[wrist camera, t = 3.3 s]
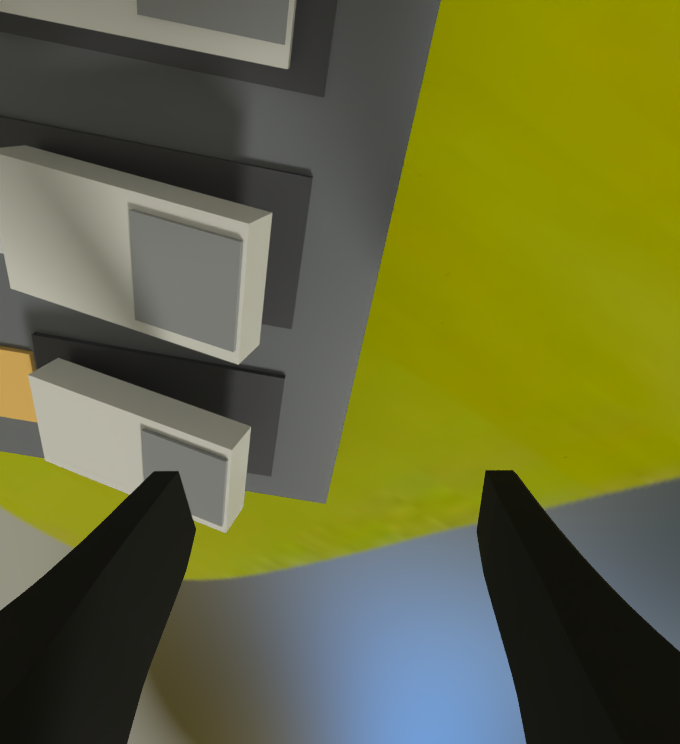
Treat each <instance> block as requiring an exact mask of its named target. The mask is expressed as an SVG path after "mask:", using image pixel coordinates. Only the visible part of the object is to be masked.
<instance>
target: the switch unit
mask: <svg viewBox="0 0 680 744" xmlns="http://www.w3.org/2000/svg"><path fill="white" fill-rule="evenodd" d="M440 1H441V0H297V1H296V11H295V21H294V30H293V40H292V50H291V60H290V68H289V69H283V68H278V67H273V66H268V65H263V64H259V63H254V62H249V61H244V60H239V59H234V58H229V57H224V56H219V55H214V54H209V53H204V52H199V51H194V50H189V49H184V48H179V47H174V46H169V45H164V44H159V43H154V42H150V41H145V40H140V39H135V38H130V37H125V36H120V35H115V34H110V33H105V32H100V31H95V30H90V29H85V28H80V27H75V26H70V25H65V24H60V23H55V22H50V21H45V20H40V19H36V18H31V17H26V16H21V15H16V14H11V13H6V12H1V11H0V148H2V147H12V146H22V145H26V146H30V147H34V148H37V149H41V150H45V151H48V152H52V153H56V154H59V155H63V156H67V157H70V158H74V159H78V160H81V161H85V162H89V163H92V164H96V165H100V166H103V167H107V168H111V169H114V170H118V171H122V172H125V173H129V174H133V175H136V176H140V177H144V178H147V179H151V180H155V181H158V182H162V183H166V184H169V185H173V186H177V187H180V188H184V189H188V190H191V191H195V192H199V193H202V194H206V195H210V196H213V197H217V198H221V199H224V200H228V201H232V202H235V203H239V204H243V205H246V206H250V207H254V208H257V209H261V210H265V211H268V212H272V222H271V232H270V242H269V252H268V262H267V272H266V283H265V293H264V303H263V313H262V323H261V333H260V343H259V346H257V347H256V348H255V349H254V350H253V351H252V352H251V353H250V354H249V355H248V356H247V357H246V358H245V359H244V360H243V361H242V362H241V363H240V364H239V365H238V364H235V363H232V362H229V361H226V360H223V359H220V358H217V357H214V356H211V355H208V354H205V353H202V352H199V351H196V350H193V349H190V348H187V347H184V346H181V345H178V344H175V343H172V342H169V341H166V340H163V339H160V338H157V337H154V336H151V335H148V334H145V333H142V332H139V331H136V330H133V329H130V328H127V327H124V326H121V325H118V324H115V323H112V322H109V321H106V320H103V319H100V318H97V317H94V316H91V315H88V314H85V313H82V312H79V311H76V310H73V309H70V308H67V307H64V306H61V305H58V304H55V303H53V302H50V301H47V300H44V299H41V298H38V297H35V296H32V295H29V294H26V293H23V292H20V291H17V290H14V289H11V288H10V283H9V278H8V273H7V268H6V263H5V258H4V253H3V248H2V243H1V238H0V451H3V452H9V453H16V454H22V455H28V456H34V457H40V458H44V453H43V448H42V443H41V438H40V433H39V428H38V423H37V418H36V413H35V408H34V403H33V398H32V393H31V388H30V383H29V378H28V375H29V374H30V373H32V372H34V371H36V370H37V369H39V368H41V367H43V366H44V365H46V364H48V363H50V362H52V361H53V360H55V359H57V358H61V359H63V360H66V361H69V362H72V363H75V364H77V365H80V366H83V367H86V368H89V369H91V370H94V371H97V372H100V373H103V374H105V375H108V376H111V377H114V378H117V379H119V380H122V381H125V382H128V383H131V384H133V385H136V386H139V387H142V388H145V389H147V390H150V391H153V392H156V393H159V394H161V395H164V396H167V397H170V398H173V399H175V400H178V401H181V402H184V403H187V404H189V405H192V406H195V407H198V408H201V409H203V410H206V411H209V412H212V413H215V414H217V415H220V416H223V417H226V418H229V419H231V420H234V421H237V422H240V423H243V424H245V425H248V426H251V433H250V443H249V454H248V464H247V474H246V484H245V491H250V492H256V493H263V494H269V495H275V496H281V497H287V498H293V499H300V500H306V501H312V502H318V503H324V504H326V499H327V495H328V491H329V486H330V482H331V478H332V473H333V469H334V464H335V460H336V456H337V451H338V447H339V443H340V438H341V434H342V429H343V425H344V421H345V416H346V412H347V408H348V403H349V399H350V394H351V390H352V386H353V381H354V377H355V373H356V368H357V364H358V359H359V355H360V351H361V346H362V342H363V338H364V333H365V329H366V324H367V320H368V316H369V311H370V307H371V303H372V298H373V294H374V289H375V285H376V281H377V276H378V272H379V268H380V263H381V259H382V254H383V250H384V246H385V241H386V237H387V233H388V228H389V224H390V219H391V215H392V211H393V206H394V202H395V198H396V193H397V189H398V185H399V180H400V176H401V171H402V167H403V163H404V158H405V154H406V150H407V145H408V141H409V136H410V132H411V128H412V123H413V119H414V115H415V110H416V106H417V101H418V97H419V93H420V88H421V84H422V80H423V75H424V71H425V66H426V62H427V58H428V53H429V49H430V45H431V40H432V36H433V31H434V27H435V23H436V18H437V14H438V10H439V5H440Z"/></svg>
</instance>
